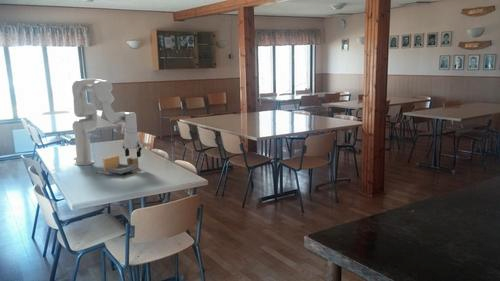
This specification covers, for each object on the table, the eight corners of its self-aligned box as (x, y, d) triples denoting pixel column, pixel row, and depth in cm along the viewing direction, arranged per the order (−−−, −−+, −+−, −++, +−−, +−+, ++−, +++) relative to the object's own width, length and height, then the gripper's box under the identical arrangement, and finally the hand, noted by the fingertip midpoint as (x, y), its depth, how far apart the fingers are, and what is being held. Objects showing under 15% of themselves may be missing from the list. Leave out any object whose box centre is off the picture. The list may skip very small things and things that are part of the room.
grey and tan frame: (104, 173, 258) (103, 159, 256) (118, 168, 270) (117, 155, 268) (121, 175, 252) (120, 161, 251) (135, 170, 264) (134, 157, 262)
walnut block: (127, 168, 273) (127, 158, 272) (132, 167, 278) (132, 157, 276) (133, 169, 271) (132, 159, 270) (138, 167, 276) (137, 157, 274)
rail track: (96, 172, 263) (96, 172, 262) (108, 169, 272) (108, 168, 272) (124, 176, 253) (124, 175, 253) (135, 172, 263) (135, 171, 263)
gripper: (117, 131, 270) (119, 156, 273) (137, 132, 263) (139, 158, 266) (124, 129, 277) (126, 154, 280) (145, 130, 270) (147, 156, 272)
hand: (133, 156), depth 273 cm, fingers open, 9 cm apart
